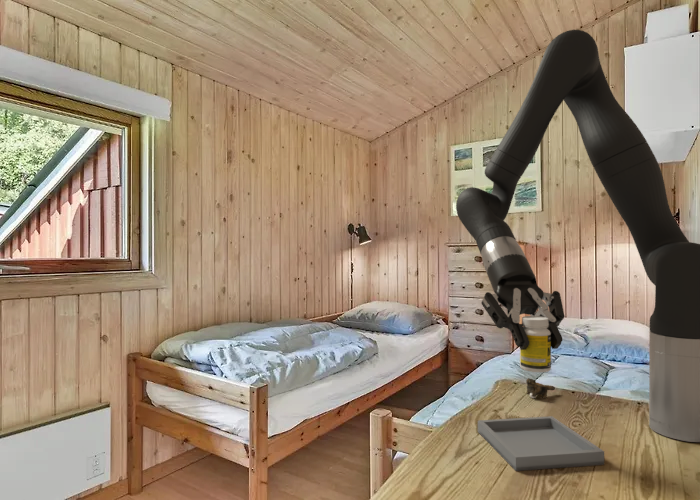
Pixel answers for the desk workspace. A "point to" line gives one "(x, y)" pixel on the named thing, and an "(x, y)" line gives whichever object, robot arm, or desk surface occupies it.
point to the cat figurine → (537, 388)
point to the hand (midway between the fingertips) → (541, 346)
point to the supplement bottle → (536, 345)
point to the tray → (539, 443)
